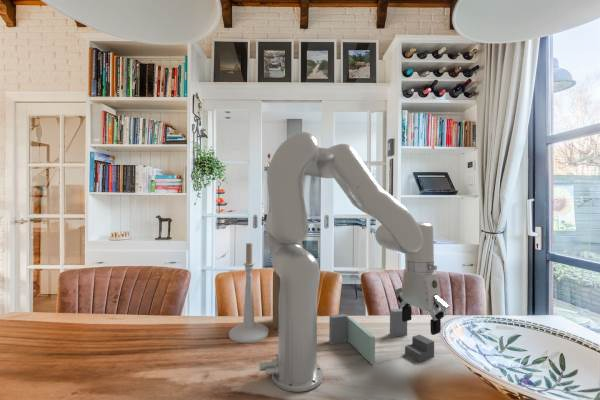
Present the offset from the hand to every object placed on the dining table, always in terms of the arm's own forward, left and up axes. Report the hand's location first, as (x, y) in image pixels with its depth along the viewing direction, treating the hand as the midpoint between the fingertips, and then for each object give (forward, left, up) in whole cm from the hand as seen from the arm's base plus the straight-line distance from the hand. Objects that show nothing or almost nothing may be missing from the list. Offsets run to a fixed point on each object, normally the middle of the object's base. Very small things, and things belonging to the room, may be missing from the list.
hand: (420, 326), depth 85 cm
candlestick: (-46, +25, -9) cm, 53 cm away
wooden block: (-32, +29, -9) cm, 44 cm away
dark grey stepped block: (0, 0, -9) cm, 9 cm away
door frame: (-9, +13, -8) cm, 18 cm away
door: (-16, +7, -8) cm, 19 cm away
